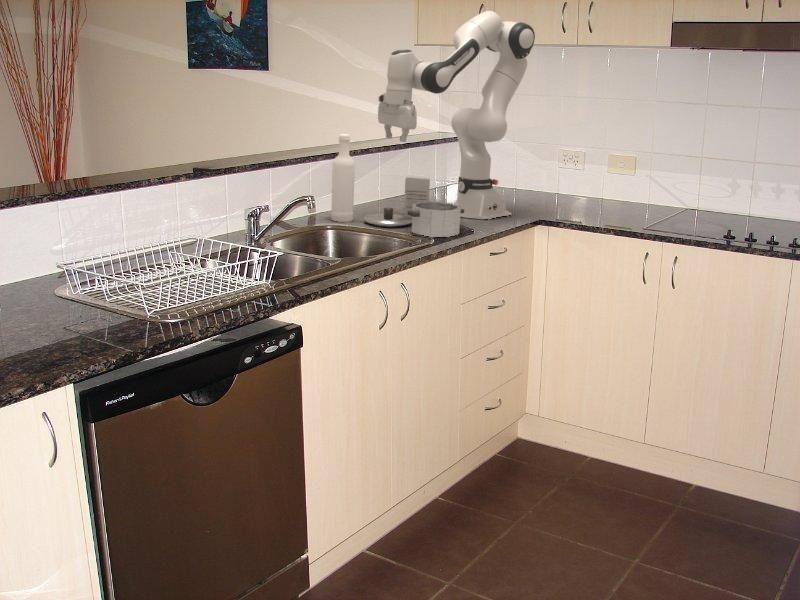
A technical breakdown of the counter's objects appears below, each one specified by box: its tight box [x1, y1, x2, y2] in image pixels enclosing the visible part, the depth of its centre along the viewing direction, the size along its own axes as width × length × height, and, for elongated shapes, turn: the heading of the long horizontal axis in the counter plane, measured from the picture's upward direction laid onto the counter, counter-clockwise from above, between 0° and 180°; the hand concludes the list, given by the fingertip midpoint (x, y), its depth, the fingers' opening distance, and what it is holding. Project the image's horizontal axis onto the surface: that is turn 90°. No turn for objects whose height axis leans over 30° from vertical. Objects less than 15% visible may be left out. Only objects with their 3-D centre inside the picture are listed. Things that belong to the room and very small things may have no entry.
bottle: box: [330, 133, 356, 223], centre depth 308 cm, size 8×8×30 cm
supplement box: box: [403, 173, 431, 218], centre depth 322 cm, size 9×9×15 cm
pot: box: [408, 201, 464, 238], centre depth 299 cm, size 20×16×9 cm
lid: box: [363, 207, 412, 228], centre depth 310 cm, size 17×17×6 cm
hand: (395, 139), depth 304 cm, fingers open, 8 cm apart
